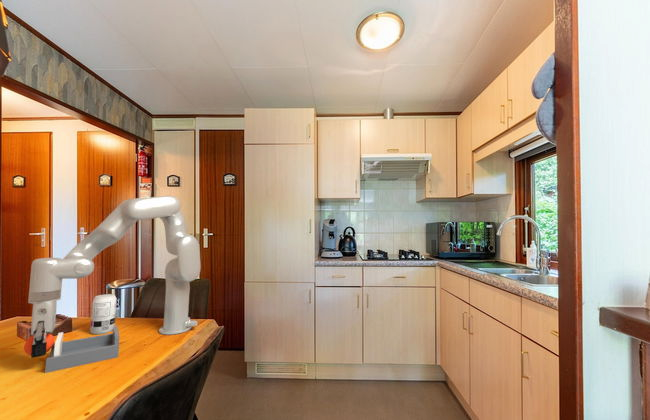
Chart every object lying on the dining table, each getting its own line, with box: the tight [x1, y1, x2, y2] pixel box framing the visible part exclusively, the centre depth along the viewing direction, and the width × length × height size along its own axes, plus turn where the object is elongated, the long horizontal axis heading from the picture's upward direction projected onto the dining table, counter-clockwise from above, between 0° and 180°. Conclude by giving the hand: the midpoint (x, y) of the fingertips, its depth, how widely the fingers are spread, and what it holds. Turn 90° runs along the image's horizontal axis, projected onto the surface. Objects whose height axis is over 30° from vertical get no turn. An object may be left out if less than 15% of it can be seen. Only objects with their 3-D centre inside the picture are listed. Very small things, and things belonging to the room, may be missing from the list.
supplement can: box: [89, 293, 118, 335], centre depth 121 cm, size 8×8×15 cm
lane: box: [44, 325, 120, 374], centre depth 97 cm, size 18×15×7 cm
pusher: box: [54, 331, 64, 356], centre depth 92 cm, size 1×12×7 cm, turn 40°
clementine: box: [23, 332, 55, 357], centre depth 90 cm, size 8×7×7 cm
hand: (40, 351), depth 90 cm, fingers closed on clementine, 7 cm apart
